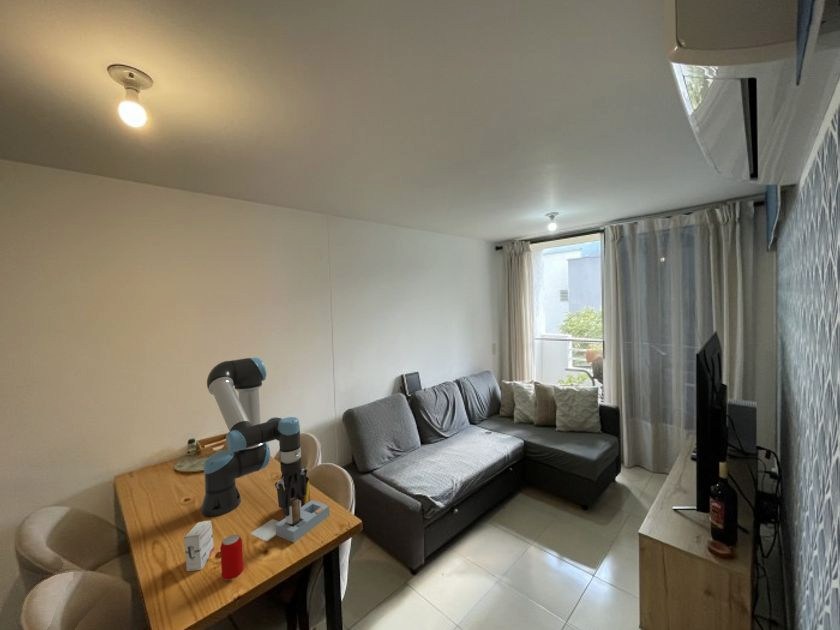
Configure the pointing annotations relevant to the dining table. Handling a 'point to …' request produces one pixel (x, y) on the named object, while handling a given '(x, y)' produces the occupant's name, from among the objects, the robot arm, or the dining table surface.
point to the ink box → (198, 545)
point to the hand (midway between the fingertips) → (294, 519)
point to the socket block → (303, 521)
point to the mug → (306, 497)
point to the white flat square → (266, 530)
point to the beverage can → (231, 557)
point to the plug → (294, 511)
